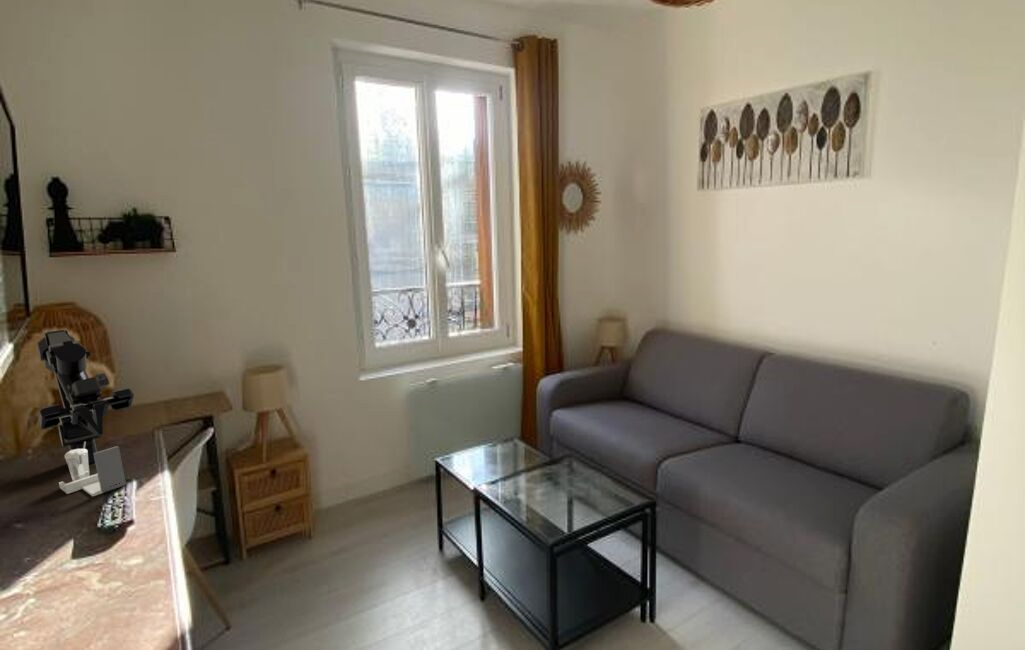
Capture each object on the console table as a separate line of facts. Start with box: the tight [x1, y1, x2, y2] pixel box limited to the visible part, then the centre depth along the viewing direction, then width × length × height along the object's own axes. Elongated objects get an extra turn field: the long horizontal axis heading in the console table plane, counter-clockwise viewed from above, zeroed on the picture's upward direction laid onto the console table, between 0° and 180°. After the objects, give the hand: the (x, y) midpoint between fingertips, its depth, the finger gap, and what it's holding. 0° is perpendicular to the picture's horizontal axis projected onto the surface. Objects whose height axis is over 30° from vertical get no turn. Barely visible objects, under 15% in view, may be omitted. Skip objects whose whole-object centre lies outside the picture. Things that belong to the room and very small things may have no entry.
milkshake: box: [64, 442, 91, 482], centre depth 139 cm, size 4×5×10 cm
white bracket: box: [58, 445, 127, 497], centre depth 136 cm, size 13×10×10 cm
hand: (100, 434), depth 134 cm, fingers closed
